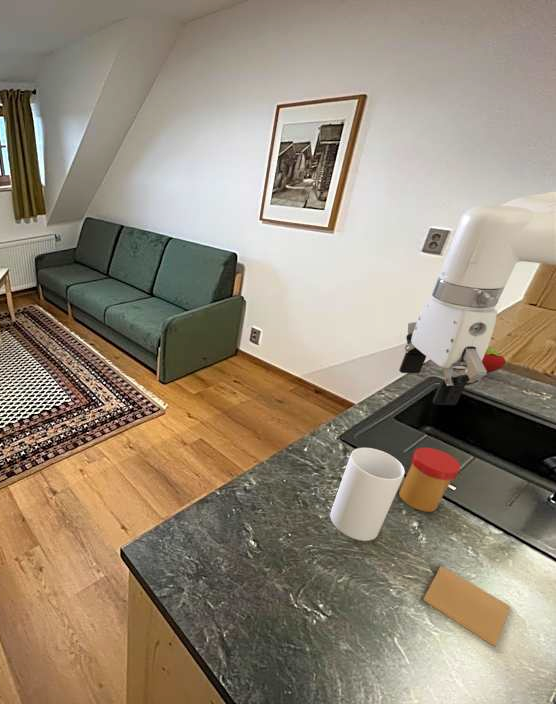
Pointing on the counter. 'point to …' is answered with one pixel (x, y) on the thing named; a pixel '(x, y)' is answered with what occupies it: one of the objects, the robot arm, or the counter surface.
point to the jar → (422, 490)
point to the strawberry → (492, 360)
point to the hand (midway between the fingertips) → (425, 387)
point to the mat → (467, 605)
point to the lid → (435, 463)
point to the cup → (366, 493)
